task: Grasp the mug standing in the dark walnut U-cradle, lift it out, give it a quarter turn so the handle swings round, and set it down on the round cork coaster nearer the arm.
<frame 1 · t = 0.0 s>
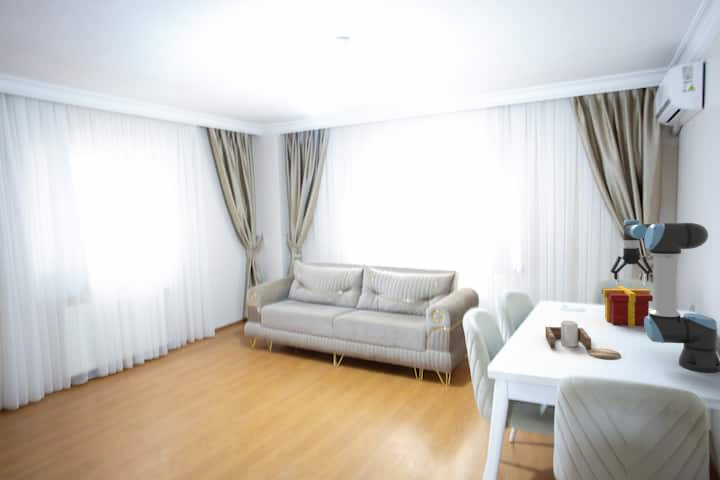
hand: (631, 285, 247), 28 cm above the table, fingers open, 13 cm apart
coaster: (603, 354, 219), on the table
mug: (568, 345, 235), on the table
cradle: (568, 345, 235), on the table
gift box: (626, 322, 275), on the table
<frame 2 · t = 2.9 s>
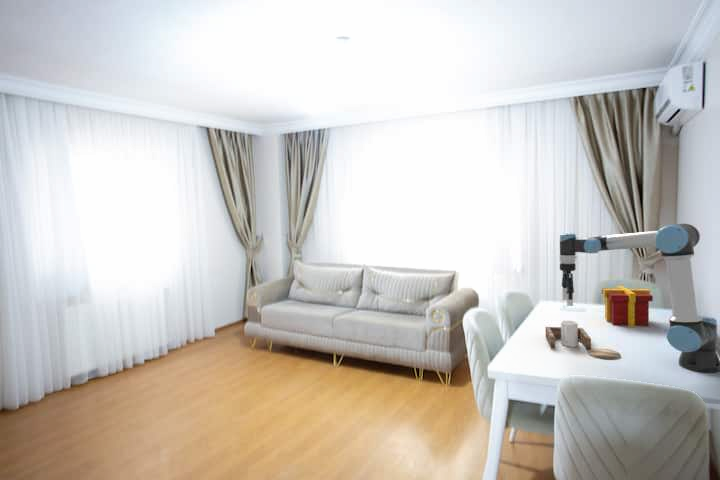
hand: (567, 302, 233), 23 cm above the table, fingers open, 13 cm apart
nothing on the table moved.
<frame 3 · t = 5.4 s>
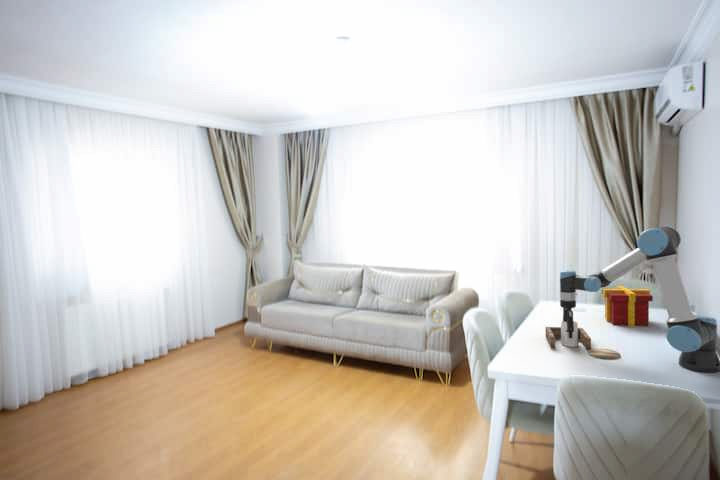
hand: (568, 340, 235), 2 cm above the table, fingers closed on mug, 10 cm apart
mug: (568, 345, 235), on the table, touching gripper
everything else where it was.
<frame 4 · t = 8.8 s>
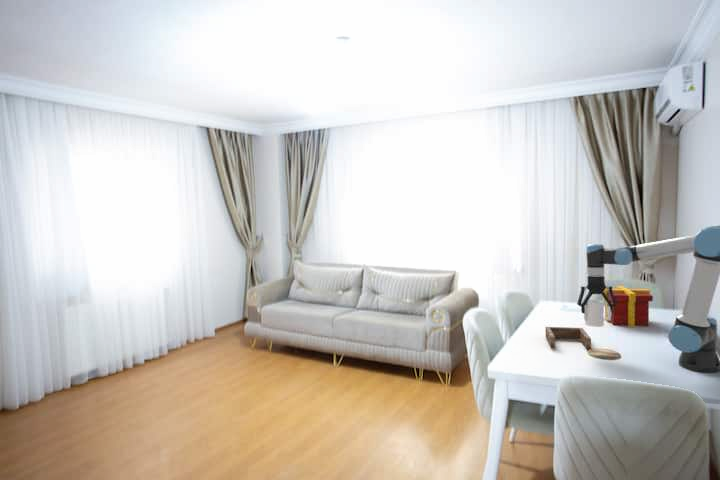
hand: (597, 319, 220), 17 cm above the table, fingers closed on mug, 10 cm apart
mug: (597, 325, 220), point 14 cm above the table, touching gripper
everything else where it was.
when the fingers open (5 cm above the table, at t = 12.5 s): mug drops 1 cm, resting on coaster.
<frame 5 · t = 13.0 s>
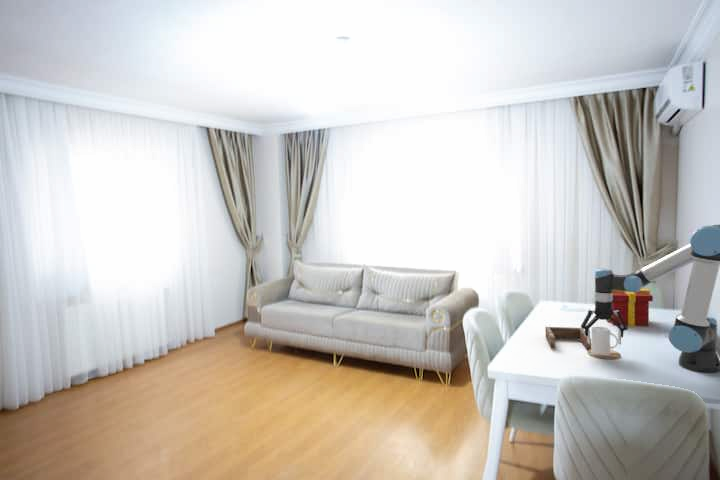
hand: (603, 343, 218), 6 cm above the table, fingers open, 13 cm apart
mug: (604, 353, 218), point 1 cm above the table, touching coaster
everything else where it was.
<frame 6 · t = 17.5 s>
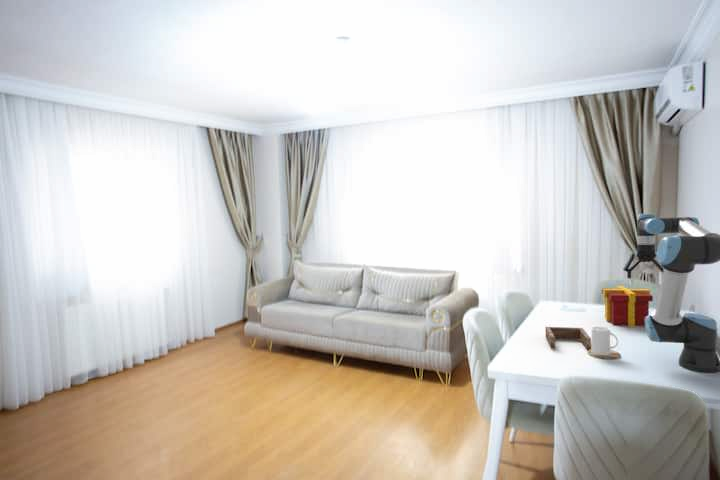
hand: (645, 284, 228), 32 cm above the table, fingers open, 13 cm apart
nothing on the table moved.
at the end: mug 0.5 cm from the coaster (horizontally); mug tilted 0°; the gripper is holding nothing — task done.
